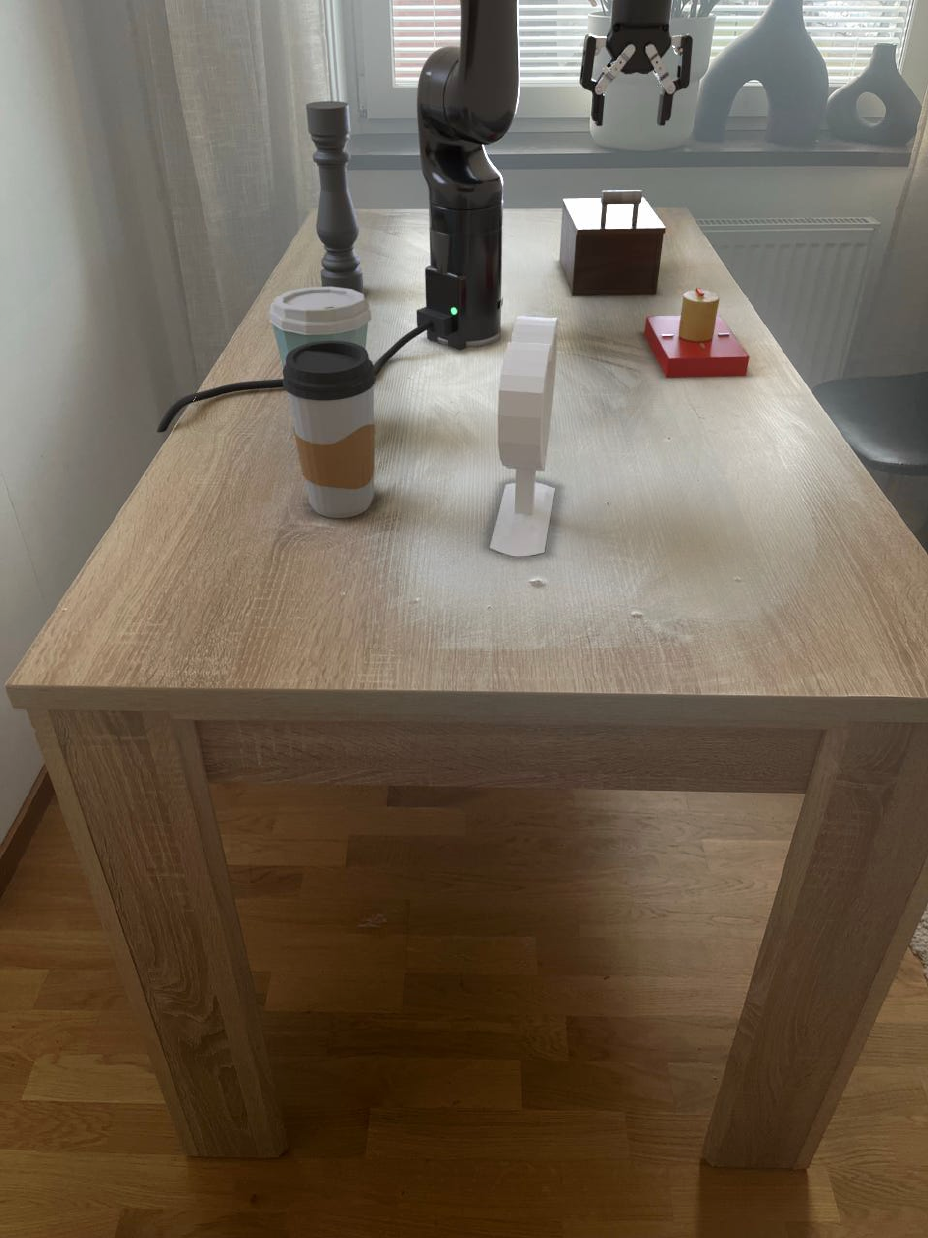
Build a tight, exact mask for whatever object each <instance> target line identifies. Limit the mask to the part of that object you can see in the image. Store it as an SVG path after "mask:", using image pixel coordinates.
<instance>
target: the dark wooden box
mask: <svg viewBox="0 0 928 1238" xmlns="http://www.w3.org/2000/svg"><path fill="white" fill-rule="evenodd" d="M561 207H562V209H561V226H560V244H559V259H558V263H559V265H560V268H561V271H562V273H563V276H564V278H565V281H566V284H567V286H568V289H569V291H570V295H571V296H572V297H584V296H586V297H587V296H590V297H591V296H630V295H631V296H634V295H635V296H636V295H638V296H639V295H641V296H642V295H657V293H658V283H659V275H660V270H661V269H660V268H661V260H662V251H663V243H664V236H665V234H619V235H577V234H576V232H575V230H574V227H573V225H572V223H571V221H570V219H569V217H568V215H567V213H566V210H565V208H564V206H563V205H562V206H561Z"/></svg>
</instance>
